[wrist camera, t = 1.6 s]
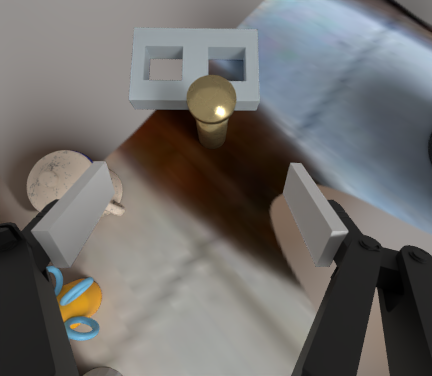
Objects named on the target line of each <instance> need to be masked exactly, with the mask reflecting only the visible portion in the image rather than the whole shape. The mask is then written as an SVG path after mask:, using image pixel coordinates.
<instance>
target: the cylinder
mask: <svg viewBox="0 0 432 376" xmlns="http://www.w3.org/2000/svg"><path fill="white" fill-rule="evenodd" d="M46 268H47V269H48V271H49V272H52V273H53V274H54V275H55V278H56V287H55V289H54V291H55V294H56V298H57V301H58V304H59V308H60V311H61V315H62V318H63V321H64V325H65V328H66V332H67V335H68V339H69V338H71V339H74V340H88V339H91V338H93V337H95V336H96V335H97V334H98V332H99V324H98V323H97V322H96V321H95V320H93V319H91V318H90V317H91V316H92V315H93V314H94V313H95V312H96V311H97V310H98V308H99V306H100V304H101V300H102V293H101V289H100V287H99V286H98V284H97V283H96V282H94V281H93V278H92V277H88V278H86V279H85V278H83V279H78V280H75V281H73V282H70V283H68V284H66V285H63V276H62V273H61V271H60V270H59V269H58V268H55V267H54V266H47V267H46ZM82 323H83V324H87V325H89V326H90V327H92V329H93V330H92V331H91V332H87V333H80V332H76V331H74V330H72V329H74V328H76V327H77V326H79V325H80V324H82ZM69 342H70V341H69Z"/></svg>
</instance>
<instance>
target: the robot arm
mask: <svg viewBox="0 0 432 376" xmlns="http://www.w3.org/2000/svg"><path fill="white" fill-rule="evenodd" d="M429 155H430V159H431V162H432V134H431V137H430V140H429ZM114 194H115V190H114V187H113V184H112V181H111V177H110V174H109V171H108V168H107V164H106V161H94V162H93V163H92V164H91V166H90V167H89V168H88V169H87V170H86V171H85V172H84V173H83V174H82V175H81V177H80V178H79V179H78V180H77V181H76V182H75V183H74V184H73V185H72V186H71V187H70V189H69V190H68V191H67V192H66V193H65V194H64V195H63V196H62V197H61V198H60V199H55V200H54V201H52V202H50V203H49V204H47V205H46V206H45V207H44V208H43V209H42V210H41V212H39V213H38V214H37V215H36V218H34V219H33V220H32V221H31V222H30V223H29V224H28V225H27V226H26V227H25V228H24V229H23V230H22V231H20V230H19V228H18V227H17V225H16V224H15V223H11V222H10V223H2V224H0V376H79V373H78V369H77V366H76V362H75V359H74V356H73V352H72V349H71V345H70V342H69V339H68V335H67V332H66V328H65V325H64V321H63V318H62V315H61V311H60V308H59V304H58V301H57V298H56V294H55V291H54V287H53V284H52V280H51V277H50V274H49V271H48V269H47V268H46V267H47V265H48V264H49V262H50V261H51V262H52V264H53V265H54V267H55V268H70V267H71V266H72V264H73V262H74V261H75V259H76V257H77V256H78V254H79V252H80V251H81V249H82V247H83V246H84V244H85V242H86V241H87V239H88V237H89V236H90V234H91V232H92V231H93V229H94V227H95V226H96V224H97V222H98V221H99V219H100V217H101V216H102V214H103V212H104V211H105V209H106V207H107V206H108V204H109V202H110V201H111V199H112V197H113V196H114ZM283 195H284V197H285V199H286V202H287V204H288V206H289V208H290V211H291V213H292V215H293V217H294V220H295V222H296V224H297V226H298V228H299V230H300V233H301V235H302V237H303V239H304V242H305V244H306V246H307V248H308V250H309V253H310V255H311V257H312V259H313V261H314V264H315V266H316V267H330V265H331V263H332V261H333V260H334V261H335V263H336V265H337V267H336V269H335V270H334V272H333V274H332V276H331V280H330V283H329V285H328V288H327V290H326V293H325V295H324V297H323V300H322V302H321V305H320V307H319V310H318V312H317V314H316V317H315V319H314V322H313V324H312V326H311V329H310V331H309V334H308V336H307V339H306V341H305V343H304V346H303V348H302V351H301V353H300V356H299V358H298V360H297V363H296V365H295V368H294V370H293V373H292V375H291V376H356V375H357V370H358V365H359V361H360V356H361V352H362V347H363V343H364V338H365V333H366V329H367V324H368V320H369V315H370V311H371V306H372V302H373V297H374V292H375V288H376V287H377V289H378V296H379V303H380V310H381V317H382V324H383V331H384V338H385V345H386V352H387V359H388V366H389V373H390V376H432V256H431V255H430V254H429V253H427V252H426V251H424V250H422V249H420V248H418V247H415V246H410V245H408V246H404V247H402V248H401V250H400V251H396V250H392V249H387V248H383V247H382V246H381V244H380V243H379V242H377V241H376V240H375V239H373V238H371V237H369V236H366V235H363V234H362V233H361V231H360V230H359V229H358V227H357V226H356V225H355V224H354V222H353V221H352V220H351V218H349V216H348V214H347V213H345V210H344V209H343V208H342V207H341V205H340V204H338V203H337V202H335V201H334V200H326V198H325V197H324V195H323V194H322V193H321V191H320V190H319V188H318V187H317V185H316V184H315V183H314V181H313V180H312V178H311V177H310V175H309V174H308V173H307V171H306V170H305V168H304V167H303V165H302V164H301V163H290V167H289V171H288V175H287V179H286V183H285V187H284V191H283Z"/></svg>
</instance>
